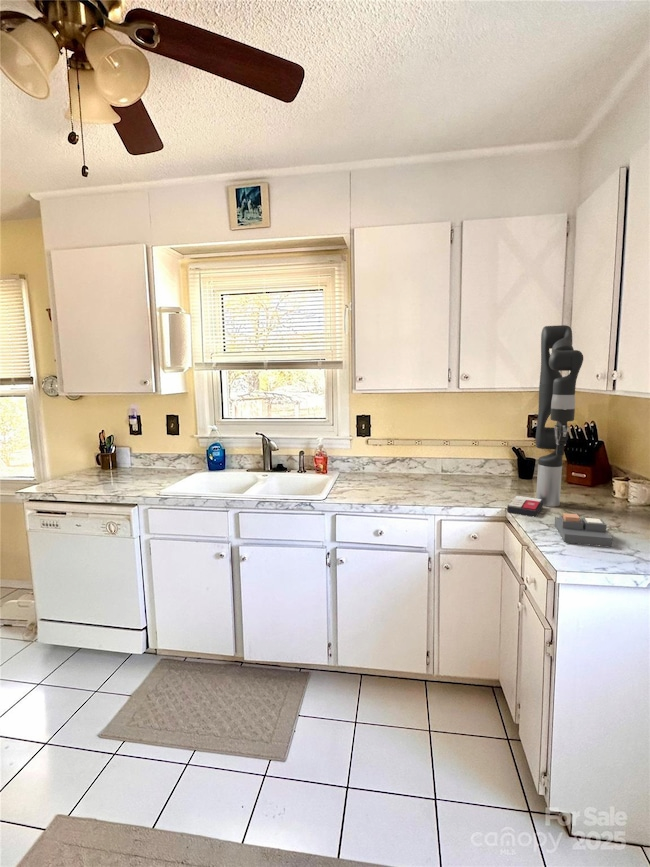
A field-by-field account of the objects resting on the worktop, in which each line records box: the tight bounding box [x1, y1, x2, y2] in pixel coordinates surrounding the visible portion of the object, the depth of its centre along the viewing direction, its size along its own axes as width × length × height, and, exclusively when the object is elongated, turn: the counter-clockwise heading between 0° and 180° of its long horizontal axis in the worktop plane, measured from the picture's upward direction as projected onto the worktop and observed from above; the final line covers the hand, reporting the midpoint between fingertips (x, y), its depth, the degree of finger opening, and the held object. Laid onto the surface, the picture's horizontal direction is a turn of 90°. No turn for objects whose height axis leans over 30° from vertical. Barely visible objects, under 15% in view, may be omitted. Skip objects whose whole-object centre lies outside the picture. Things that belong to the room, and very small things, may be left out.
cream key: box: [584, 517, 603, 524], centre depth 154 cm, size 4×4×2 cm
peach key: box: [562, 512, 581, 522], centre depth 156 cm, size 4×4×2 cm
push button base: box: [553, 515, 614, 548], centre depth 155 cm, size 18×14×6 cm
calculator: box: [506, 495, 544, 518], centre depth 184 cm, size 11×4×15 cm
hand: (559, 455), depth 161 cm, fingers closed
